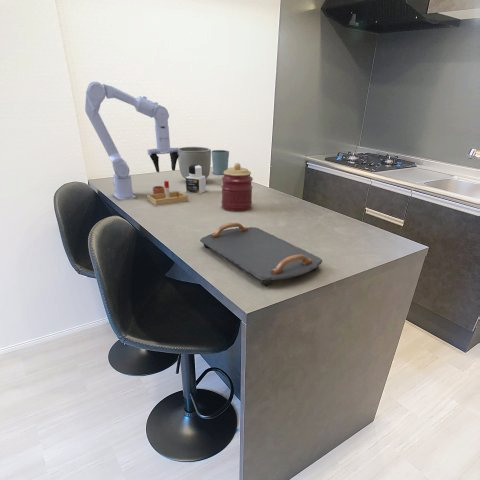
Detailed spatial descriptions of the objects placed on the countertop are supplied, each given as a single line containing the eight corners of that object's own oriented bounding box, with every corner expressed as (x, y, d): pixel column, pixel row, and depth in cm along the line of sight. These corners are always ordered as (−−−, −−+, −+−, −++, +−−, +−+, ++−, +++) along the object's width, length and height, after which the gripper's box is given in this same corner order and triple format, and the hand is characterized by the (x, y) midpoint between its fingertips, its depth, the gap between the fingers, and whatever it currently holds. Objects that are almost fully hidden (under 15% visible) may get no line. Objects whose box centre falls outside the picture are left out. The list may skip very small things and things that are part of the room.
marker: (165, 199, 157) (163, 181, 153) (169, 199, 158) (167, 180, 154) (166, 200, 156) (165, 182, 151) (170, 200, 157) (169, 181, 152)
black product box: (186, 192, 170) (184, 166, 164) (193, 189, 176) (192, 163, 169) (199, 194, 168) (198, 167, 161) (206, 191, 174) (205, 164, 167)
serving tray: (194, 244, 116) (193, 226, 112) (250, 232, 127) (251, 214, 124) (267, 293, 90) (269, 271, 86) (330, 272, 101) (334, 252, 97)
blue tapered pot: (210, 174, 205) (209, 151, 199) (214, 171, 214) (213, 149, 207) (227, 175, 204) (227, 152, 197) (230, 172, 212) (230, 150, 206)
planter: (194, 176, 199) (192, 145, 190) (218, 181, 191) (217, 149, 182) (172, 182, 187) (169, 149, 178) (196, 187, 179) (195, 153, 170)
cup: (152, 196, 164) (150, 186, 161) (162, 194, 166) (161, 185, 164) (156, 198, 160) (155, 189, 158) (167, 197, 162) (166, 188, 160)
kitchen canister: (257, 207, 152) (260, 163, 143) (237, 213, 145) (238, 167, 135) (236, 201, 160) (236, 159, 150) (215, 206, 152) (214, 162, 142)
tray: (147, 200, 157) (147, 195, 156) (178, 196, 164) (178, 191, 163) (156, 206, 150) (155, 200, 149) (188, 201, 157) (187, 196, 156)
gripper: (150, 139, 147) (153, 174, 155) (181, 138, 154) (183, 171, 162) (144, 137, 152) (148, 171, 160) (175, 136, 159) (177, 168, 167)
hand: (165, 171), depth 161 cm, fingers open, 7 cm apart
